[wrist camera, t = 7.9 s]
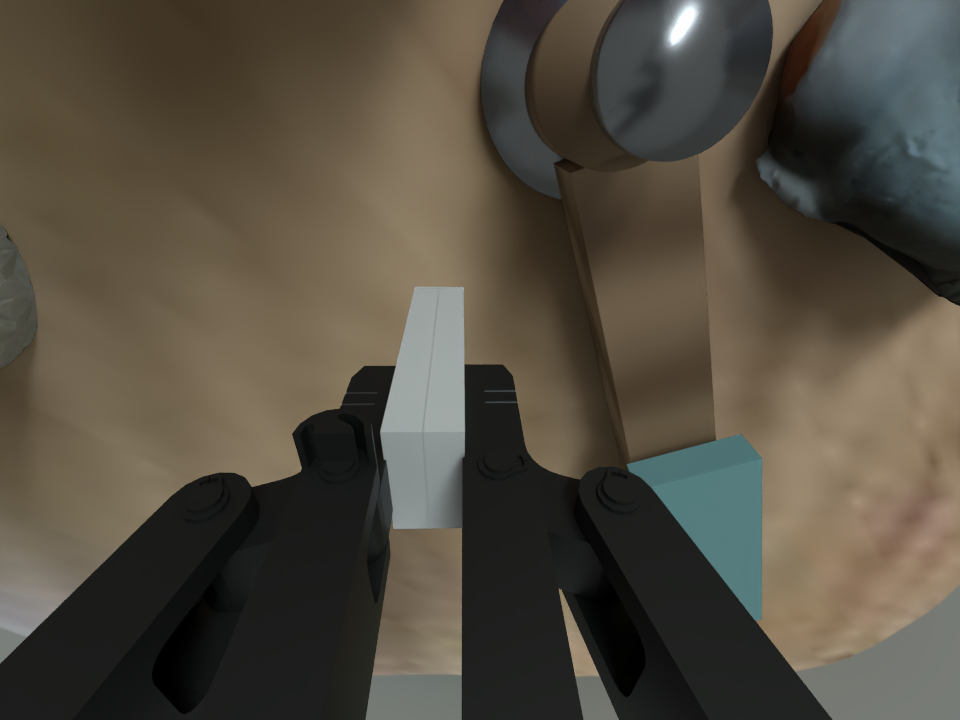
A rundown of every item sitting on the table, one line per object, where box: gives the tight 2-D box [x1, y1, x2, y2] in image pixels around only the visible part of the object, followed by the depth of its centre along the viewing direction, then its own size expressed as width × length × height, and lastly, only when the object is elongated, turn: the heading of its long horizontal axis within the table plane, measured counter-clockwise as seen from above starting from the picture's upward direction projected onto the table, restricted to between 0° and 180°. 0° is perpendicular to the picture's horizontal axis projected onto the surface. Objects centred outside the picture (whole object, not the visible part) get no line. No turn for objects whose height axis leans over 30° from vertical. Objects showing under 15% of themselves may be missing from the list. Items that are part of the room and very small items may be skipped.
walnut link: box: [524, 0, 716, 470], centre depth 18 cm, size 24×5×3 cm, turn 19°
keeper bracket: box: [627, 434, 762, 620], centre depth 24 cm, size 14×5×6 cm, turn 19°
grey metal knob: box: [481, 0, 773, 200], centre depth 12 cm, size 8×8×8 cm
